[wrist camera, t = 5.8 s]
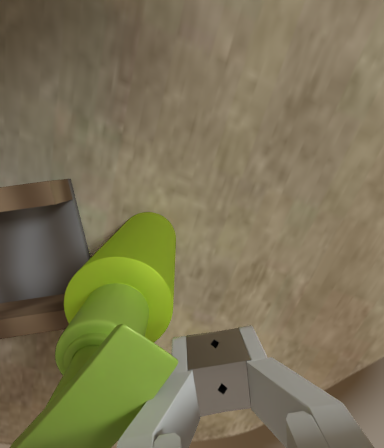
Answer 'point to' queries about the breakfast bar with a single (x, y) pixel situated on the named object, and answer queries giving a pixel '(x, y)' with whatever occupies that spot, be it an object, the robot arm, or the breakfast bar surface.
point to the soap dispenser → (111, 339)
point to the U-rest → (38, 255)
